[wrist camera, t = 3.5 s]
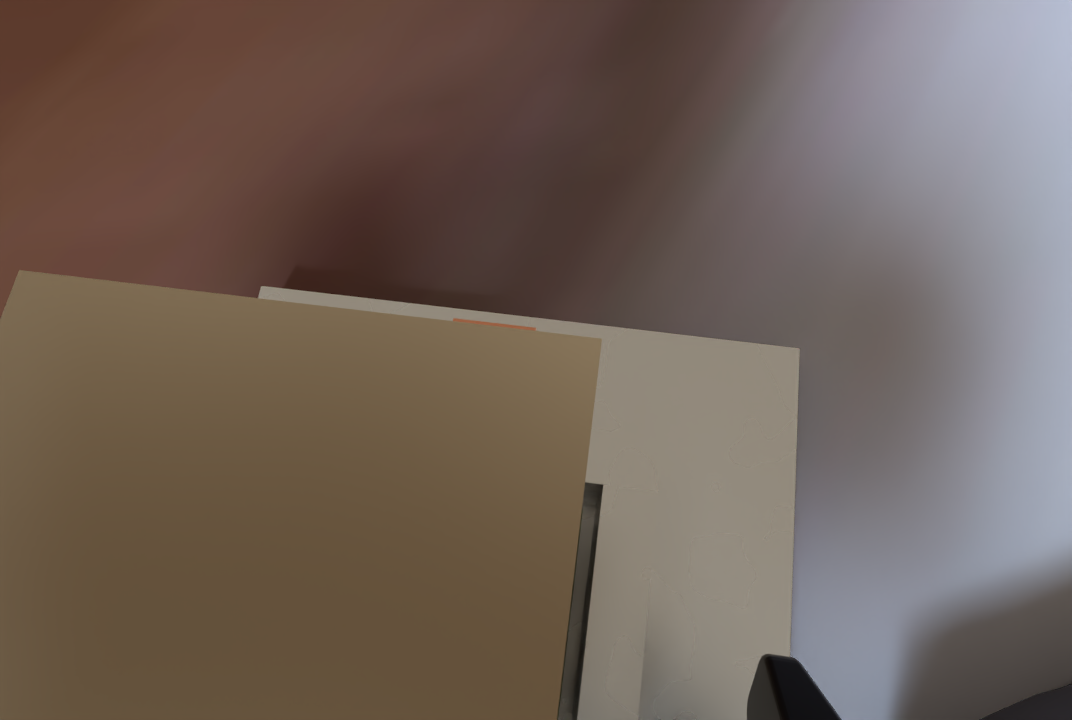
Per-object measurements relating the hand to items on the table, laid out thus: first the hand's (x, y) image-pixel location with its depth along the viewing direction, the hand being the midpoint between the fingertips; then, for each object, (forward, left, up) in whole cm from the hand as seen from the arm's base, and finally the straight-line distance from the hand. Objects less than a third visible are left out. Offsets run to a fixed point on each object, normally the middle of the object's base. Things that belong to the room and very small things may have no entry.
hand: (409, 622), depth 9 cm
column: (0, 0, -7) cm, 7 cm away
